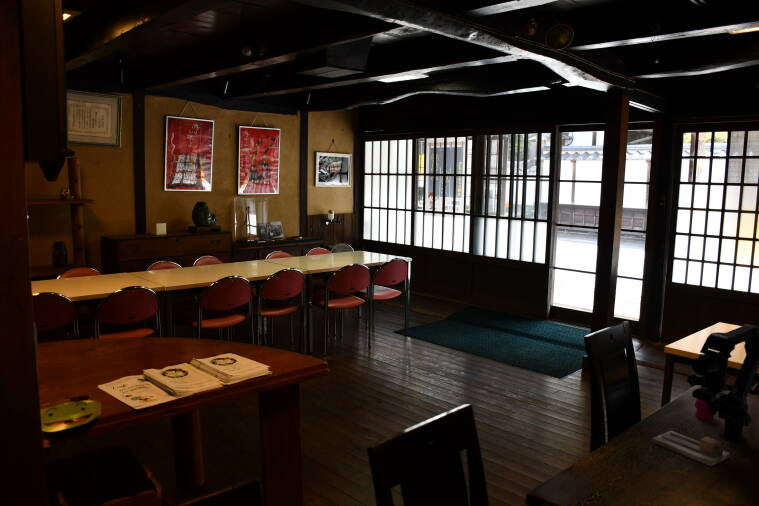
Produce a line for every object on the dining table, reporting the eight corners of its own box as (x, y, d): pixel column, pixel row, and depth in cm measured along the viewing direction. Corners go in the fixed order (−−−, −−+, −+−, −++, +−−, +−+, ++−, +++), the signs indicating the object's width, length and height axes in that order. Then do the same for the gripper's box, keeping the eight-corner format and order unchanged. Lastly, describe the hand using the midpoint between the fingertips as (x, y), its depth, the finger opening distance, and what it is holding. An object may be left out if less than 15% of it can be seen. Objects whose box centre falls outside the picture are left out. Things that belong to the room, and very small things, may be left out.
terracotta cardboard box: (705, 447, 197) (706, 436, 196) (717, 452, 193) (718, 441, 193) (699, 450, 194) (700, 439, 194) (711, 455, 191) (712, 443, 191)
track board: (670, 434, 211) (672, 422, 210) (729, 457, 194) (730, 444, 194) (651, 442, 204) (652, 429, 203) (710, 466, 187) (712, 453, 187)
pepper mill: (717, 422, 223) (723, 371, 220) (697, 419, 224) (702, 369, 222) (711, 414, 230) (716, 365, 228) (691, 412, 231) (696, 363, 229)
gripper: (707, 360, 211) (702, 402, 213) (678, 368, 200) (674, 412, 202) (740, 369, 202) (735, 412, 204) (712, 378, 191) (707, 424, 193)
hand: (712, 415), depth 201 cm, fingers closed
